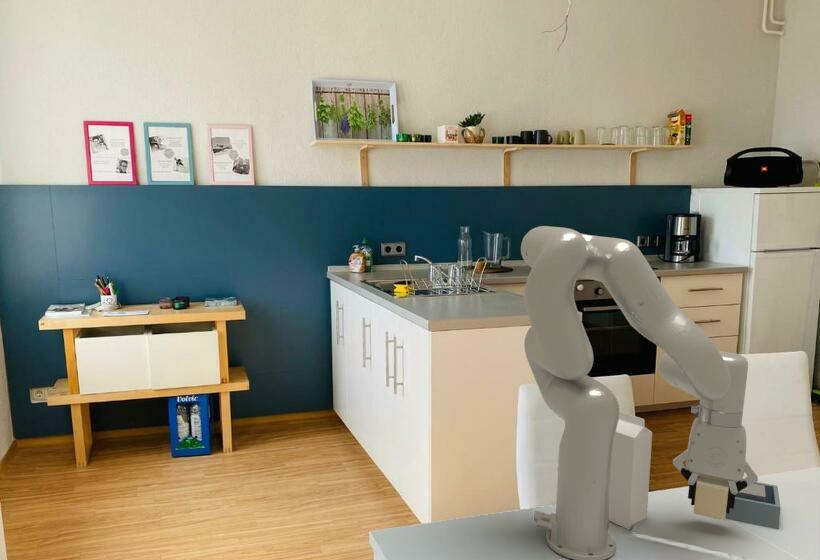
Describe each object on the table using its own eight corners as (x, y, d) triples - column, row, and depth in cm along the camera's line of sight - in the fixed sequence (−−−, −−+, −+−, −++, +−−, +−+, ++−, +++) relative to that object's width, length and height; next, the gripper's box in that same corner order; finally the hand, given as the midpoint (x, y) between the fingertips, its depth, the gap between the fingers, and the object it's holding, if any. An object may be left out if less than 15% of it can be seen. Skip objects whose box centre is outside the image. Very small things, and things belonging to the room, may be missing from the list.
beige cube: (693, 513, 126) (696, 481, 125) (695, 502, 131) (698, 471, 130) (724, 520, 124) (728, 487, 123) (725, 509, 128) (729, 477, 128)
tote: (716, 521, 133) (718, 495, 132) (717, 499, 142) (719, 475, 142) (778, 534, 128) (780, 507, 127) (775, 510, 137) (777, 485, 137)
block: (730, 513, 134) (732, 490, 133) (730, 502, 139) (732, 479, 138) (763, 520, 131) (765, 496, 130) (762, 508, 136) (764, 485, 136)
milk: (629, 530, 128) (635, 422, 125) (603, 518, 133) (609, 414, 130) (647, 521, 132) (653, 416, 129) (621, 510, 137) (627, 408, 134)
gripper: (670, 413, 125) (661, 503, 128) (771, 431, 118) (760, 526, 120) (673, 403, 132) (665, 489, 134) (770, 420, 125) (759, 510, 127)
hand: (710, 505), depth 127 cm, fingers closed on beige cube, 5 cm apart
